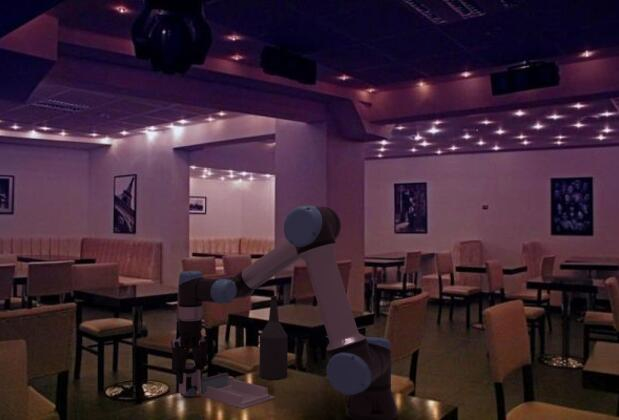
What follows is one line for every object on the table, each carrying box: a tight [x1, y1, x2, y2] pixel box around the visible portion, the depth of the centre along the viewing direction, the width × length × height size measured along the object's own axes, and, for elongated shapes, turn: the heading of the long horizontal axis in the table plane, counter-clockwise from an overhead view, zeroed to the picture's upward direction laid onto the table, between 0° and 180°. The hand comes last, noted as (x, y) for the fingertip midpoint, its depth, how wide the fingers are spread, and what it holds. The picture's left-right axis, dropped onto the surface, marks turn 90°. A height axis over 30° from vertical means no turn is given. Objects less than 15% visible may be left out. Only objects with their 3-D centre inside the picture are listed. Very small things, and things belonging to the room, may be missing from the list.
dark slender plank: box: [200, 372, 230, 394], centre depth 191 cm, size 1×11×4 cm, turn 140°
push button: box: [180, 362, 201, 397], centre depth 184 cm, size 7×5×10 cm
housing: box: [197, 375, 276, 410], centre depth 186 cm, size 22×14×3 cm
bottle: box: [259, 295, 289, 381], centre depth 210 cm, size 10×10×30 cm
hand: (189, 391), depth 183 cm, fingers closed on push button, 5 cm apart
